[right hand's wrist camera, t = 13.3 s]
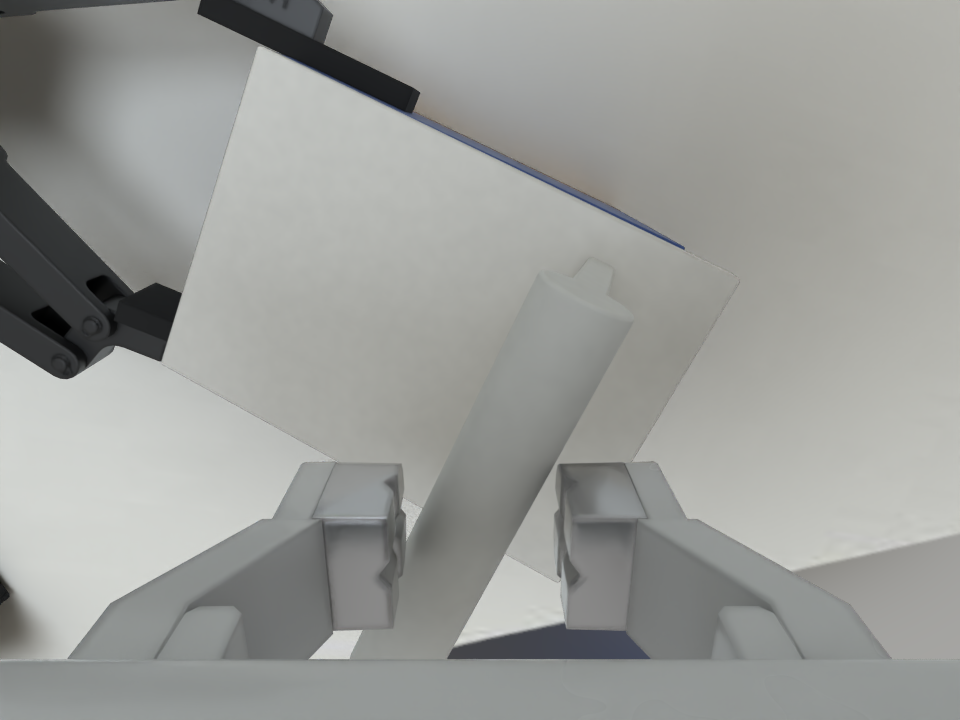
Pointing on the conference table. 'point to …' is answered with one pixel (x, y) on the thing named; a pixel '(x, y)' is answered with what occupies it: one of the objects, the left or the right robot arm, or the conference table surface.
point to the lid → (431, 326)
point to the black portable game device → (3, 594)
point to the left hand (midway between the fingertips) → (357, 245)
